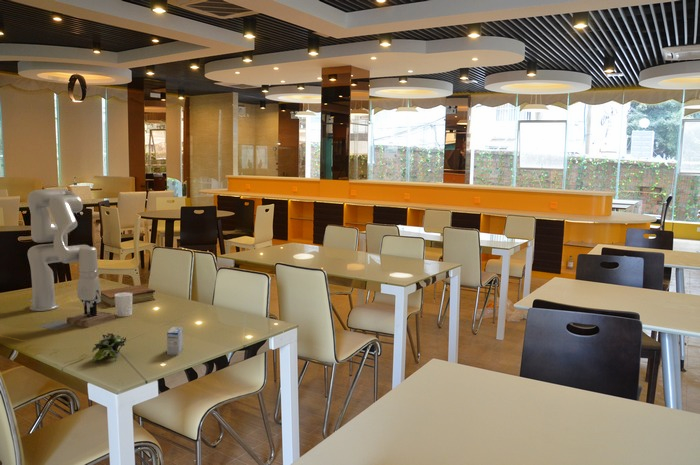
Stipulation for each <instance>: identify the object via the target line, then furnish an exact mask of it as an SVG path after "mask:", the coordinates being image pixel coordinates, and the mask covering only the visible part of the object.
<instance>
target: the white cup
mask: <svg viewBox="0 0 700 465" xmlns="http://www.w3.org/2000/svg"><path fill="white" fill-rule="evenodd" d="M115 306H116V307H115V311H116V312H115V313H116V317H121V318H122V317H130V316H132V315H133V304H132V293H128V292H125V293H117V294H115Z"/></svg>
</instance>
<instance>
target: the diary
mask: <svg viewBox="0 0 700 465" xmlns="http://www.w3.org/2000/svg"><path fill="white" fill-rule="evenodd" d="M100 291H101V297H100V299H101V302H100V303H102V304H104V305H106V306H108V307H110V308H116V306H115V294H117V293H125V292H128V293H132V305H133V304H138V303H145V302H146V303H147V302H152V301H156V298H154V293H155V292H156V290H155V289H152V288H149V287H147V286H144V285H141V284H139V285H133V286H125V287H117V288H112V289H111V288H110V289H105V290H100Z"/></svg>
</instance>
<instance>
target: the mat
mask: <svg viewBox="0 0 700 465" xmlns="http://www.w3.org/2000/svg"><path fill="white" fill-rule="evenodd" d="M72 326H75V325H74V324H69V323H67V321H62V320H55V321H52V322H48V323H44V324H42V325H41V324H40V325H38V327H39V328H45V329H48V330H49V329H50V330H54V331H57V330H61V329H65V328H68V327H72Z"/></svg>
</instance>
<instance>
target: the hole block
mask: <svg viewBox="0 0 700 465" xmlns="http://www.w3.org/2000/svg"><path fill="white" fill-rule="evenodd" d="M115 315H116V314H115V313H110V312H105V311H99V310H97V314H96V315H94V317H91V318H89V317H87V315H85V314H84V312H83V313H78V314H74V315H72V316H68V317H66V322H67V323H69V324H74V325H73V326H78V327H79V326H80V327H83V328H91V327H95V326H99V325H101V324H105V323H109V322H112V321H115V319H116V317H115Z"/></svg>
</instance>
